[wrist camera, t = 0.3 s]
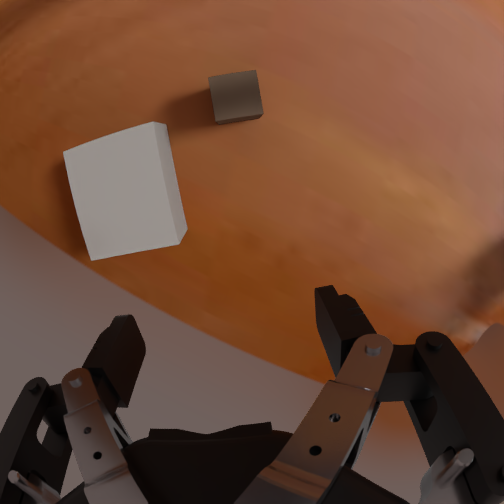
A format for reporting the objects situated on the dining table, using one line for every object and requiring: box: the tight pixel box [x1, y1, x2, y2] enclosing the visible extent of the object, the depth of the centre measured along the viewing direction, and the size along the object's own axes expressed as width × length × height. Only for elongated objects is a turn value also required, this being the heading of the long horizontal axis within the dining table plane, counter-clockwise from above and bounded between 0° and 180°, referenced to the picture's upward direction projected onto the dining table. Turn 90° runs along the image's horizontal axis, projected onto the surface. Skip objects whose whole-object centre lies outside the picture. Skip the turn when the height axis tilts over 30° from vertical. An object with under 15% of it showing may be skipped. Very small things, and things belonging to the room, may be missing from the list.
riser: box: [63, 122, 187, 261], centre depth 33 cm, size 14×12×6 cm
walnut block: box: [208, 70, 263, 125], centre depth 30 cm, size 5×5×6 cm
